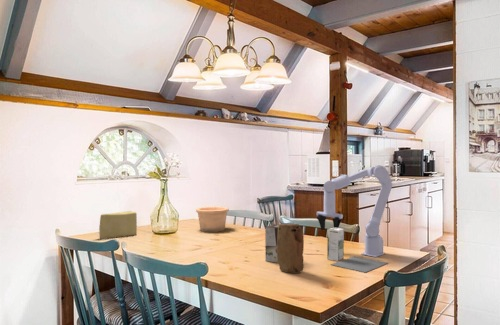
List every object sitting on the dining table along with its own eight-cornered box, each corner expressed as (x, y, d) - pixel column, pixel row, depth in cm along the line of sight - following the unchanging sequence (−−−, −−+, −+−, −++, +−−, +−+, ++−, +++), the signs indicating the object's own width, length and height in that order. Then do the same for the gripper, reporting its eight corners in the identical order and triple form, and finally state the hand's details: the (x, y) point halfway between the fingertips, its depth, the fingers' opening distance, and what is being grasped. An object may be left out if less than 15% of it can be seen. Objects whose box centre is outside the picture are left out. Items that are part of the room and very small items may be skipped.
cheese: (103, 240, 232) (102, 215, 232) (96, 238, 239) (96, 213, 239) (137, 235, 247) (137, 211, 247) (130, 233, 254) (130, 210, 254)
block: (275, 269, 166) (275, 223, 166) (287, 266, 171) (287, 221, 171) (295, 275, 158) (294, 226, 158) (306, 271, 163) (306, 224, 163)
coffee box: (277, 262, 178) (277, 227, 178) (265, 261, 181) (264, 226, 181) (286, 258, 186) (285, 224, 186) (274, 256, 189) (273, 223, 189)
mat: (354, 256, 187) (354, 256, 187) (388, 263, 175) (388, 262, 175) (330, 265, 173) (330, 264, 173) (365, 272, 161) (365, 272, 161)
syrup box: (332, 257, 187) (332, 227, 187) (344, 259, 183) (343, 228, 183) (327, 259, 183) (326, 228, 182) (338, 261, 179) (338, 230, 179)
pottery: (203, 234, 248) (203, 211, 247) (191, 228, 267) (191, 208, 267) (234, 230, 258) (233, 209, 258) (220, 226, 277) (220, 206, 277)
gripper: (313, 203, 199) (312, 230, 199) (337, 206, 188) (337, 234, 189) (321, 202, 204) (320, 228, 204) (345, 205, 193) (345, 232, 193)
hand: (329, 231), depth 197 cm, fingers open, 7 cm apart
